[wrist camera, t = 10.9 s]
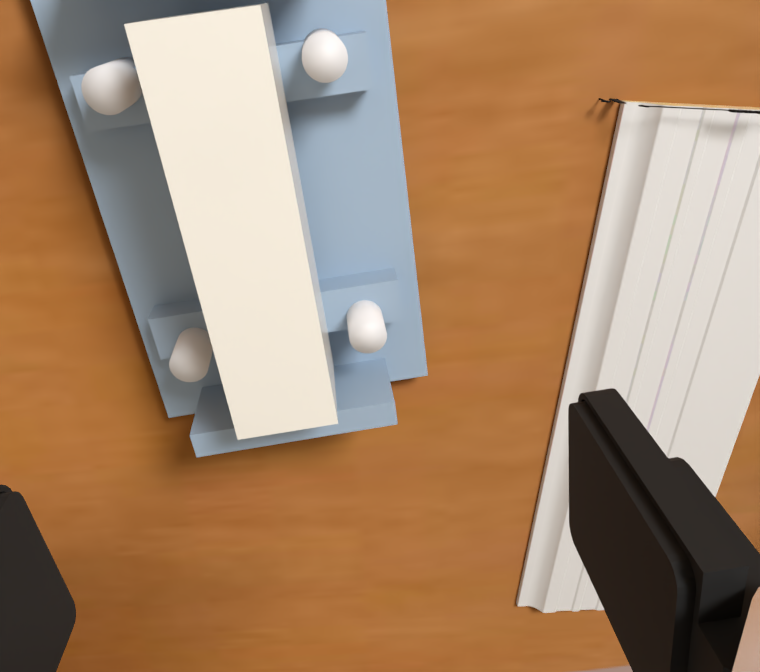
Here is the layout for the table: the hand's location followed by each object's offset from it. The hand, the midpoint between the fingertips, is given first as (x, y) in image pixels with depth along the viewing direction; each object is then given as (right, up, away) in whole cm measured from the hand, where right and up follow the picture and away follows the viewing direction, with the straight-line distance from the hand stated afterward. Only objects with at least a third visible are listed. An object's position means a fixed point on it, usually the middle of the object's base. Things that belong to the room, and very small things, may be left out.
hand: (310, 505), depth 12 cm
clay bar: (-4, +8, +16) cm, 18 cm away
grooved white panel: (+15, 0, +26) cm, 31 cm away
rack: (-4, +9, +18) cm, 21 cm away
